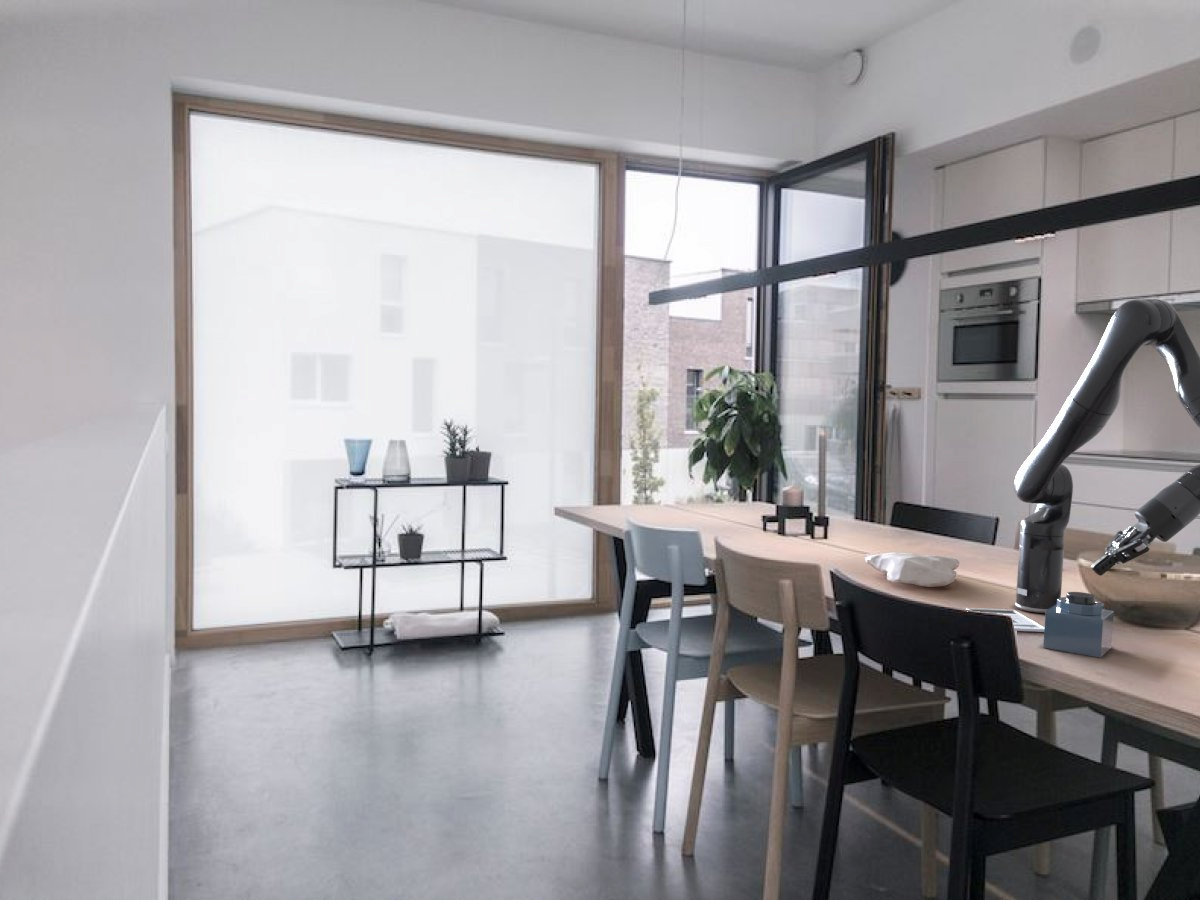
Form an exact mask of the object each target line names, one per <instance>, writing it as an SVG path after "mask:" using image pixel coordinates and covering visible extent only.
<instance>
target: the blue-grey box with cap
mask: <svg viewBox="0 0 1200 900" xmlns="http://www.w3.org/2000/svg"><path fill="white" fill-rule="evenodd" d="M1114 617H1115V611H1114V610H1110V609H1105V603H1103V602H1102V601H1101V600H1100V601H1099V600H1096V599H1095V605H1083V604H1076V603H1070V602H1067V601H1066V596H1061V598H1058V599H1057V604H1056V605H1054V606H1053V607H1051V608H1049V609H1048V610H1046V612H1045V613H1044V627H1045V629H1044V632H1043V646H1042V647H1043V649H1047V650H1048V649H1049V650H1054V651H1059V652H1060V651H1061V652H1065V653H1072V654H1077V655H1083V656H1087V657H1088V656H1089V657H1093V658H1102V657H1103V656H1104V655H1105V654H1106V653H1107V652H1109V651H1110V650H1111V649H1112V646H1113V634H1114V633H1113V630H1114V619H1115V618H1114Z"/></svg>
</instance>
